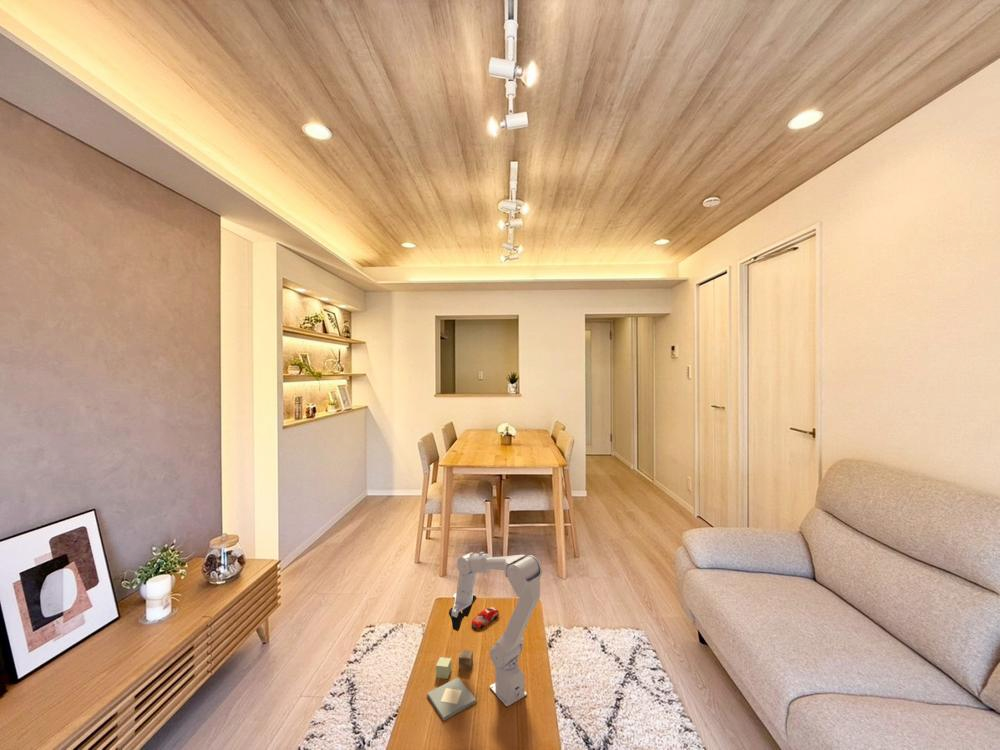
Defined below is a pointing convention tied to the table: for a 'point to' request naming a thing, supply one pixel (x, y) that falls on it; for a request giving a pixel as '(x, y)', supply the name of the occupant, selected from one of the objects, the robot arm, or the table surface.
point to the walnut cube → (465, 659)
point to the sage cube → (443, 668)
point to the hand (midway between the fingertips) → (460, 622)
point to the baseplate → (451, 698)
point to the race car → (485, 618)
